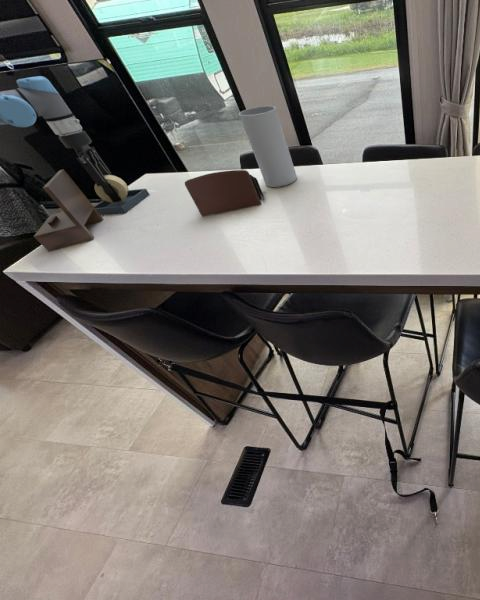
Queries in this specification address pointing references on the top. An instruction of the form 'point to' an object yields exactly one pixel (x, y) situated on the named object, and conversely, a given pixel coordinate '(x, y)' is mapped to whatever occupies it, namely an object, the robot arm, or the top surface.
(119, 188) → the tape roll
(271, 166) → the cylinder vase
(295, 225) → the top surface
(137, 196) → the tray
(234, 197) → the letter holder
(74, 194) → the stand
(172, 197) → the top surface
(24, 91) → the robot arm
